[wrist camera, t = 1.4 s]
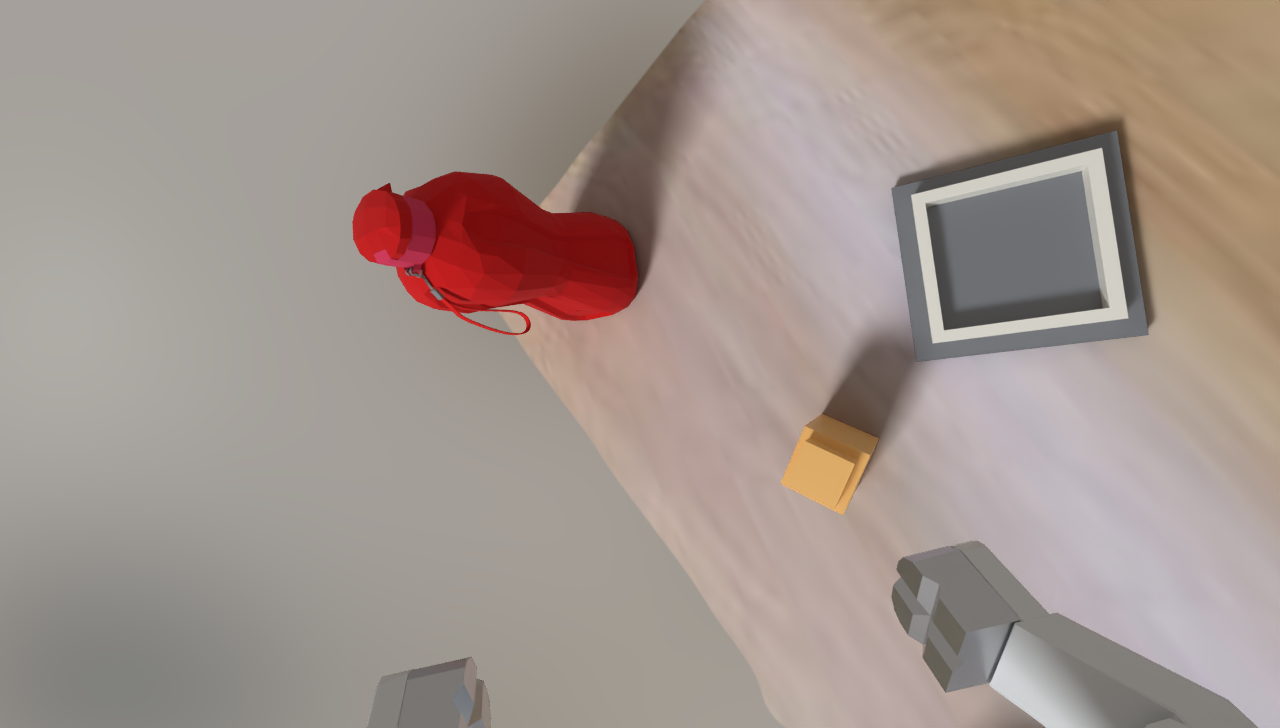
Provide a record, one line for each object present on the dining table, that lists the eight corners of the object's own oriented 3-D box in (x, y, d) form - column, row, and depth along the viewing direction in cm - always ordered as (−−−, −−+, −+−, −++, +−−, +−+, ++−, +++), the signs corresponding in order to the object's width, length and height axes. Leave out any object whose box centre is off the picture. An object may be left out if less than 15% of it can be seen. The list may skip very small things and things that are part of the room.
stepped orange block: (879, 438, 42) (867, 460, 35) (855, 490, 43) (839, 522, 36) (822, 413, 44) (799, 429, 37) (800, 463, 45) (774, 488, 38)
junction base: (1112, 135, 35) (1124, 122, 33) (1143, 335, 35) (1157, 334, 33) (892, 191, 41) (890, 183, 39) (916, 361, 41) (916, 362, 39)
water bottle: (570, 342, 56) (335, 344, 34) (557, 237, 56) (315, 171, 34) (650, 328, 51) (439, 320, 29) (635, 213, 52) (415, 121, 30)
